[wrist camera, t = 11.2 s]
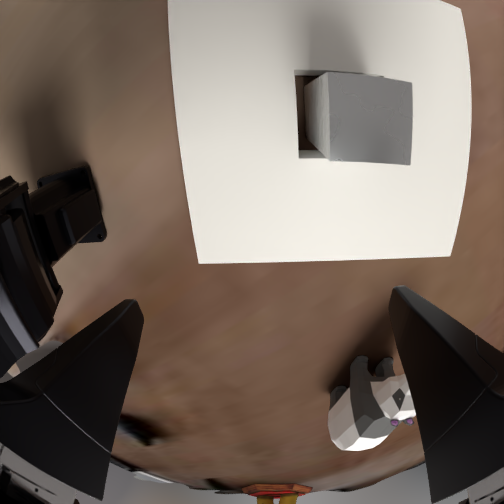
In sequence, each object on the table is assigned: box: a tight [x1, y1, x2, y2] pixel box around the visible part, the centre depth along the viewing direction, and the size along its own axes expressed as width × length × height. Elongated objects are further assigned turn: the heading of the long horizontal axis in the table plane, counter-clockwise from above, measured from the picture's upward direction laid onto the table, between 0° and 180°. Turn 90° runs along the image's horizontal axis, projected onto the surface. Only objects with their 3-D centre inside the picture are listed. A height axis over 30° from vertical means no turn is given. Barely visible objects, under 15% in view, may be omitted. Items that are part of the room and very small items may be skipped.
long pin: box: [304, 72, 413, 165], centre depth 12 cm, size 3×3×8 cm
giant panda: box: [328, 355, 416, 451], centre depth 23 cm, size 15×6×10 cm, turn 169°
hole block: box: [168, 0, 471, 264], centre depth 14 cm, size 18×18×3 cm
